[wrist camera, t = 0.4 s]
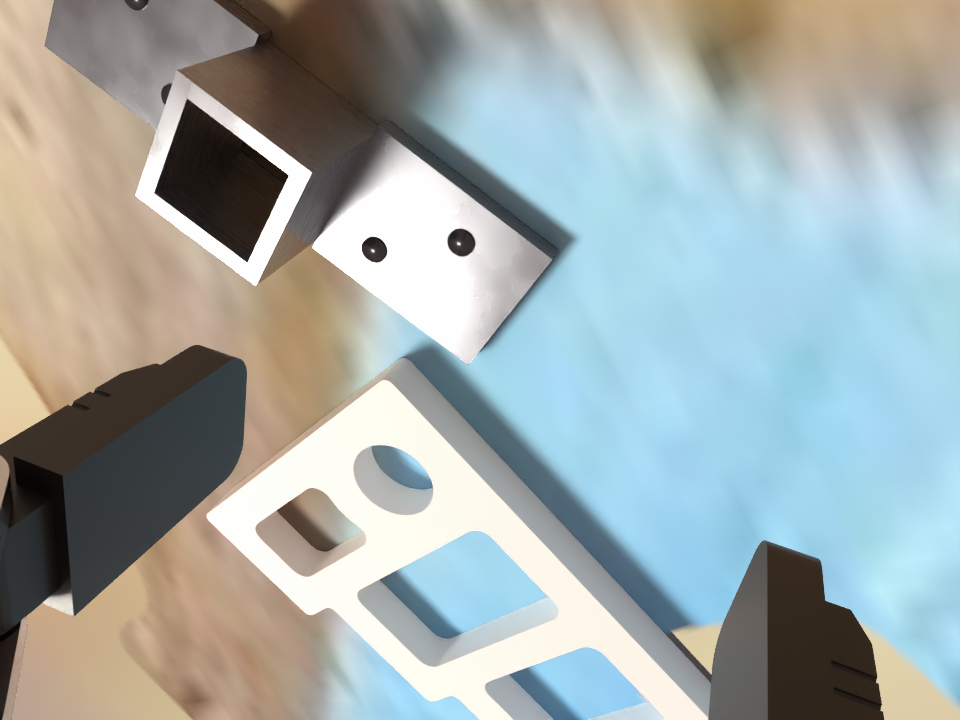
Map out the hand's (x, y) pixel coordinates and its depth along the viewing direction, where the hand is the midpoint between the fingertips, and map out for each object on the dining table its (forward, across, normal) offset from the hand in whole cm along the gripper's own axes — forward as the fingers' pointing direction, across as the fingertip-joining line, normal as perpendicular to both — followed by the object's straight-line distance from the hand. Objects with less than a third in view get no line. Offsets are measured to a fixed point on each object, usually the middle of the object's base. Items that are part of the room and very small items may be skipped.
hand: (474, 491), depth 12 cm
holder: (+27, -3, +32) cm, 42 cm away
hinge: (+22, +16, +2) cm, 27 cm away
